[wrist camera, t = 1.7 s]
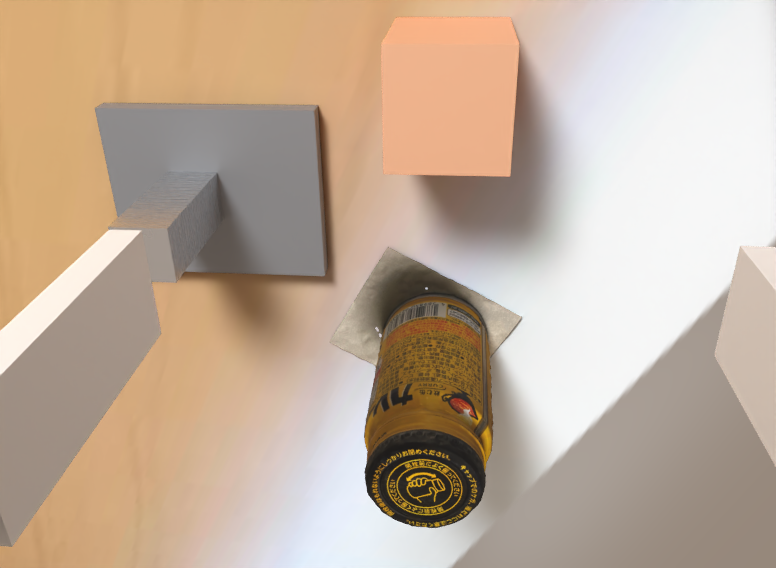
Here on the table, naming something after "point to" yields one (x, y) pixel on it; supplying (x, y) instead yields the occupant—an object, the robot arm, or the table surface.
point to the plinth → (230, 177)
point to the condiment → (425, 388)
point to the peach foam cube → (449, 96)
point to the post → (175, 220)
